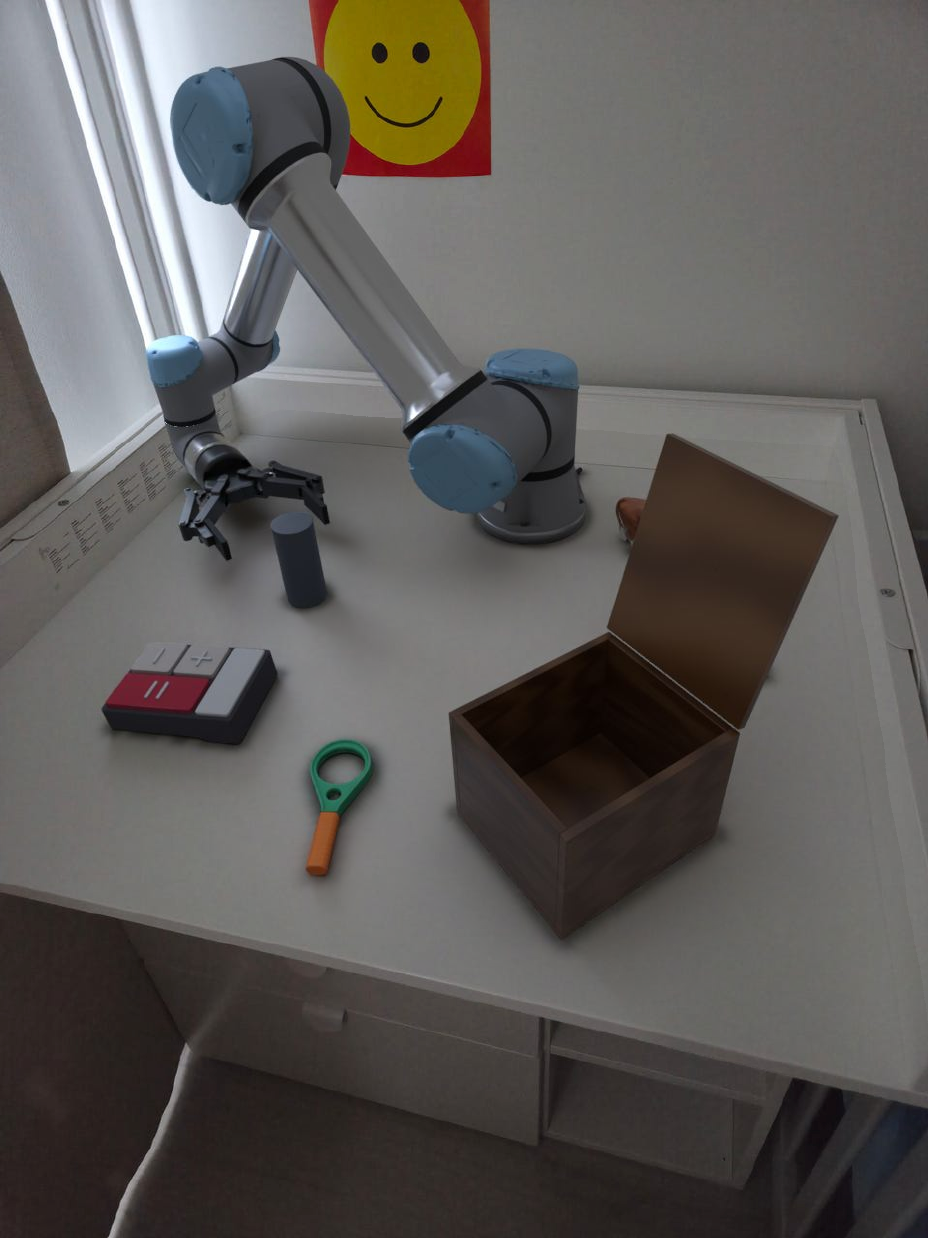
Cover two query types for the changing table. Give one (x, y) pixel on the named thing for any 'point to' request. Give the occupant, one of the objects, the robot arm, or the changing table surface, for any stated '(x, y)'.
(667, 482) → the chest lid
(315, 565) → the canister
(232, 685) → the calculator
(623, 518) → the bull figurine
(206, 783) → the changing table surface
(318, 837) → the magnifying glass
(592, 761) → the chest
